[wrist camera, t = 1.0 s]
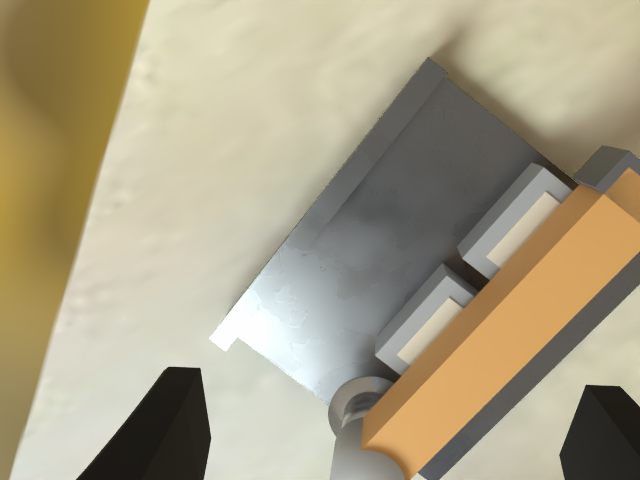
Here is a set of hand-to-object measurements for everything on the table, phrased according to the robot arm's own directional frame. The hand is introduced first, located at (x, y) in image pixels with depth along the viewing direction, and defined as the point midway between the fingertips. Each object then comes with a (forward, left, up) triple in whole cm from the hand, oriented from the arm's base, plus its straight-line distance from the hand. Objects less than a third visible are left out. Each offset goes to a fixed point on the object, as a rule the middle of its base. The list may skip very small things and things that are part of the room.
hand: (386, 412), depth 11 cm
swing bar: (-6, +1, -13) cm, 14 cm away
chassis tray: (-4, +1, -17) cm, 17 cm away
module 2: (-6, -4, -16) cm, 17 cm away
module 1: (-6, +2, -16) cm, 17 cm away
